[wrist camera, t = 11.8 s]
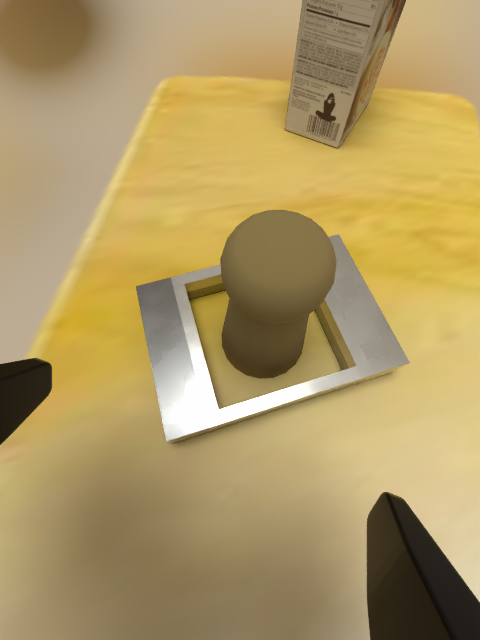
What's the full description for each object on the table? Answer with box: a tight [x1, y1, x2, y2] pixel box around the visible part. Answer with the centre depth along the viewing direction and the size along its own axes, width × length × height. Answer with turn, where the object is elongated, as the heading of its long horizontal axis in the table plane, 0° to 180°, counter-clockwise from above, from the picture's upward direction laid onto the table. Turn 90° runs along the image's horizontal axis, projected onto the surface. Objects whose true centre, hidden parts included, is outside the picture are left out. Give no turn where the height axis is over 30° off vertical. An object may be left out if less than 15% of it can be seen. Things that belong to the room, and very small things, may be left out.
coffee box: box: [285, 0, 406, 148], centre depth 25 cm, size 9×6×16 cm
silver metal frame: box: [136, 235, 410, 443], centre depth 21 cm, size 16×11×2 cm
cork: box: [220, 210, 337, 378], centre depth 17 cm, size 6×6×11 cm
